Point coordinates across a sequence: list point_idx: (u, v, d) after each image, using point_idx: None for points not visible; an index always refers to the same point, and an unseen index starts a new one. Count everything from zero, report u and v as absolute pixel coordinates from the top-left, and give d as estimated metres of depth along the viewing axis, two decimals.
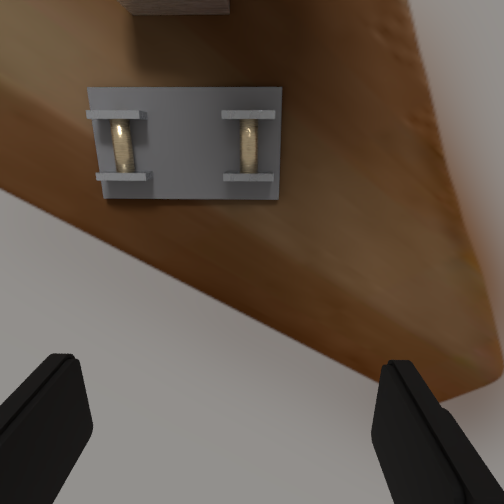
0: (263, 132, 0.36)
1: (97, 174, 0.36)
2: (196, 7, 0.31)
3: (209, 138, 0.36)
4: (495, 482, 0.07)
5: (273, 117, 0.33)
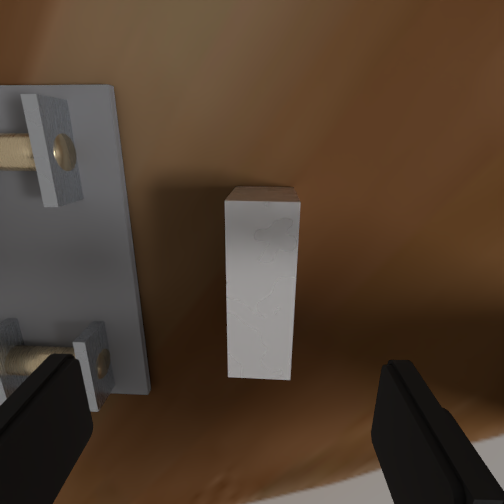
0: None
1: None
2: None
3: (61, 297, 0.22)
4: (495, 482, 0.07)
5: None
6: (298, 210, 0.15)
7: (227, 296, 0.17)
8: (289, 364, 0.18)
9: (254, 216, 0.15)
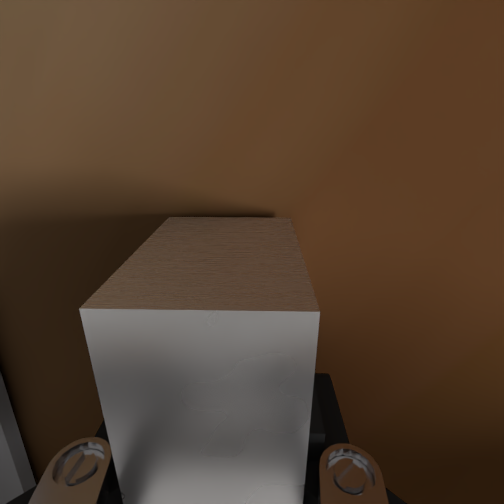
0: None
1: None
2: None
3: None
4: (342, 427, 0.08)
5: None
6: (313, 334, 0.05)
7: None
8: None
9: (176, 350, 0.05)
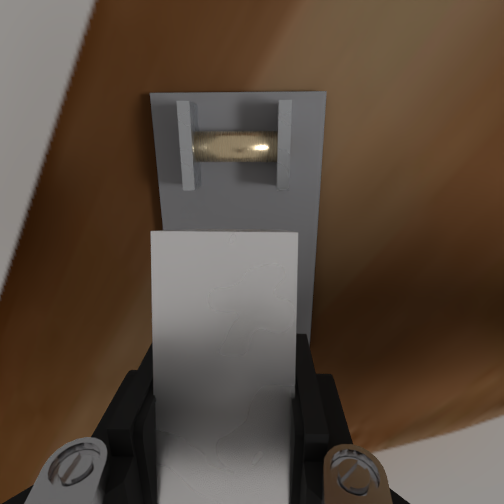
0: None
1: (186, 103, 0.20)
2: None
3: None
4: (346, 428, 0.08)
5: None
6: (294, 248, 0.08)
7: (156, 428, 0.08)
8: None
9: (208, 262, 0.08)
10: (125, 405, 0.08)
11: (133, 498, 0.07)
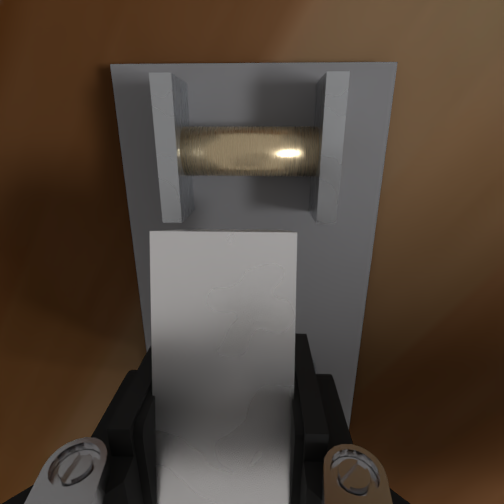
0: None
1: (166, 78, 0.12)
2: None
3: None
4: (346, 428, 0.08)
5: None
6: (293, 249, 0.08)
7: None
8: None
9: (207, 261, 0.08)
10: (125, 405, 0.08)
11: (133, 498, 0.07)
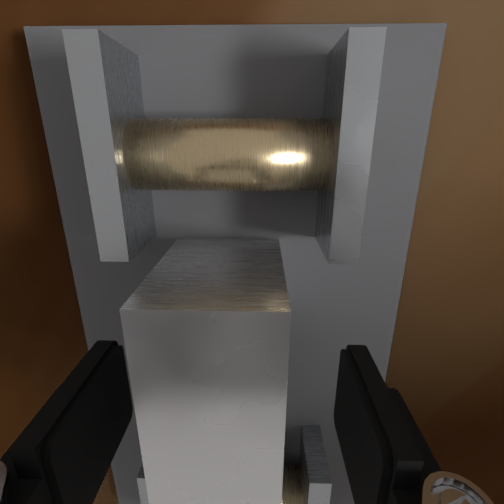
0: None
1: (92, 38, 0.07)
2: None
3: None
4: (428, 450, 0.07)
5: None
6: (286, 328, 0.07)
7: (147, 479, 0.08)
8: None
9: (188, 340, 0.07)
10: (37, 423, 0.07)
11: None
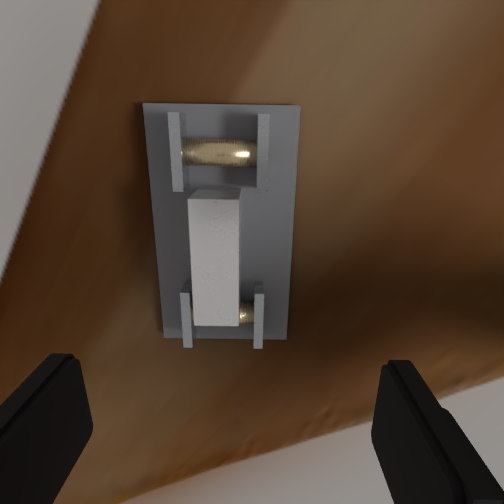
0: None
1: (176, 115, 0.23)
2: None
3: None
4: (495, 482, 0.07)
5: (255, 346, 0.29)
6: (237, 205, 0.22)
7: (191, 265, 0.24)
8: (237, 314, 0.25)
9: (208, 209, 0.22)
10: None
11: None
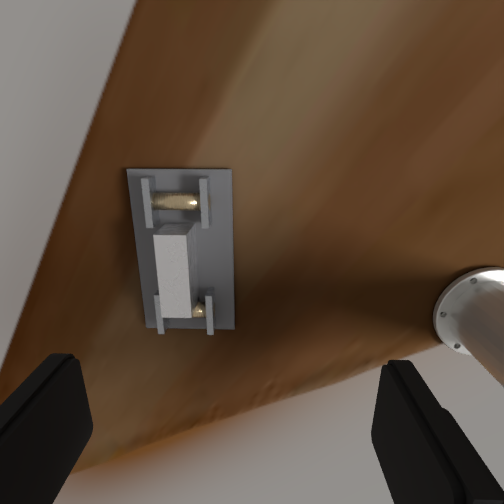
0: None
1: (146, 180, 0.35)
2: None
3: None
4: (495, 482, 0.07)
5: (208, 333, 0.41)
6: (185, 238, 0.34)
7: (158, 277, 0.36)
8: (190, 310, 0.37)
9: (166, 241, 0.35)
10: None
11: None
